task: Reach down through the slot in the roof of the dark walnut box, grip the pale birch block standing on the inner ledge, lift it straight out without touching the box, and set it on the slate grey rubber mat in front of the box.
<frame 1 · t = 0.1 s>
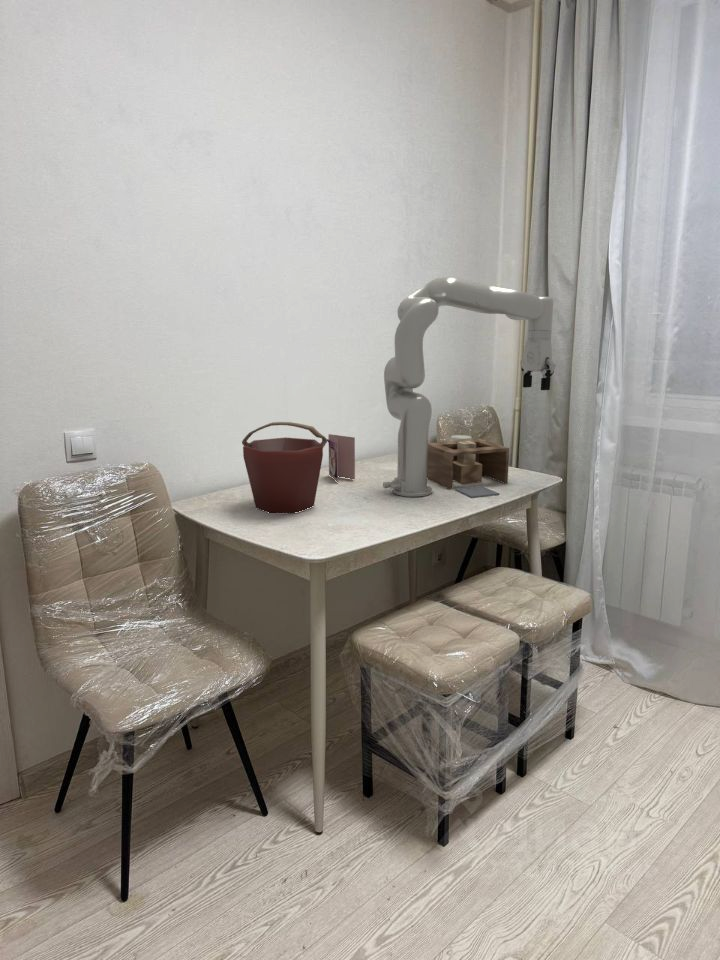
hand: (535, 388, 221), 31 cm above the table, tool pointing down, fingers open, 9 cm apart
slate mat: (477, 492, 212), on the table
birch block: (465, 462, 226), point 6 cm above the table, touching slot box
greeting card: (341, 479, 230), on the table
slot box: (465, 480, 228), on the table
bucket: (285, 507, 196), on the table
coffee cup: (459, 469, 245), on the table
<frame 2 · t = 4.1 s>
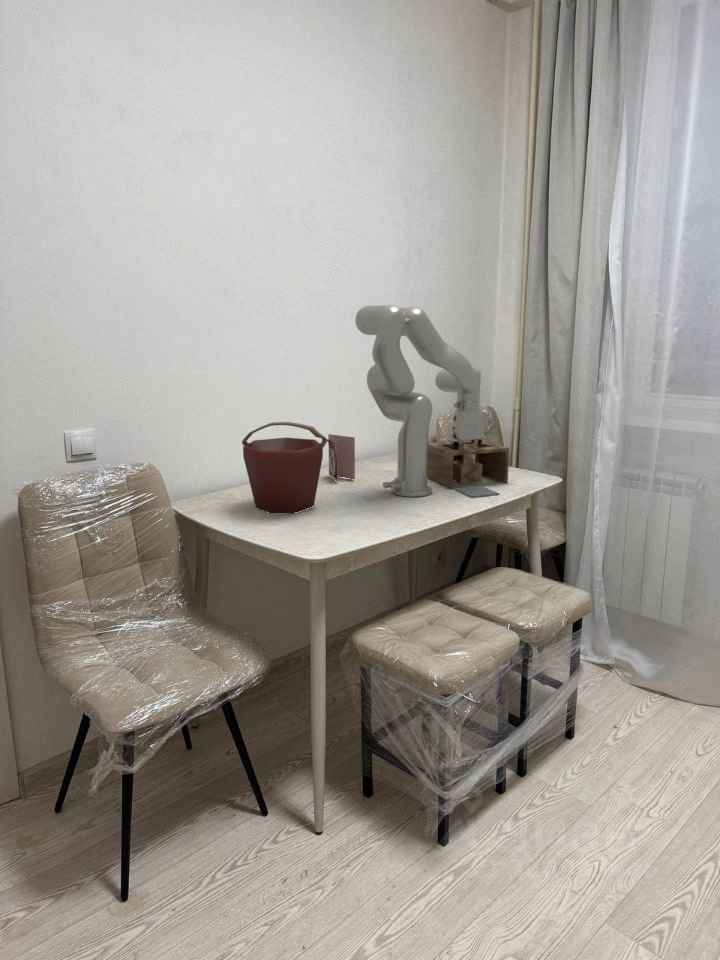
hand: (466, 459, 226), 7 cm above the table, tool pointing down, fingers closed on birch block, 4 cm apart
birch block: (466, 462, 226), point 6 cm above the table, touching gripper, slot box
everything else where it was.
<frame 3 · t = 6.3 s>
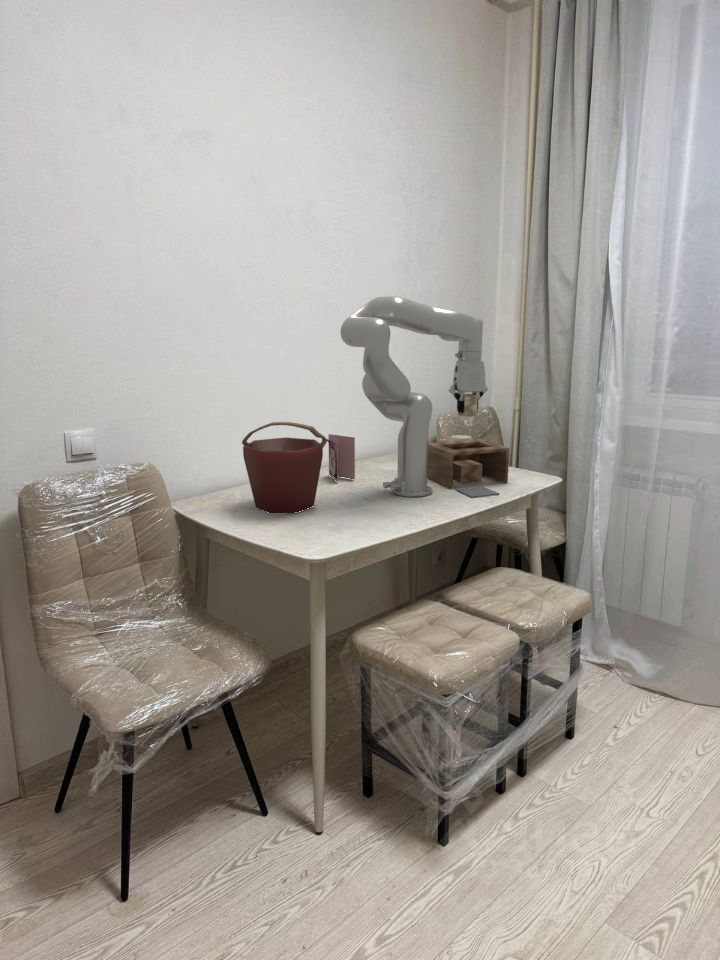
hand: (467, 411, 222), 24 cm above the table, tool pointing down, fingers closed on birch block, 4 cm apart
birch block: (467, 415, 222), point 22 cm above the table, touching gripper
everything else where it was.
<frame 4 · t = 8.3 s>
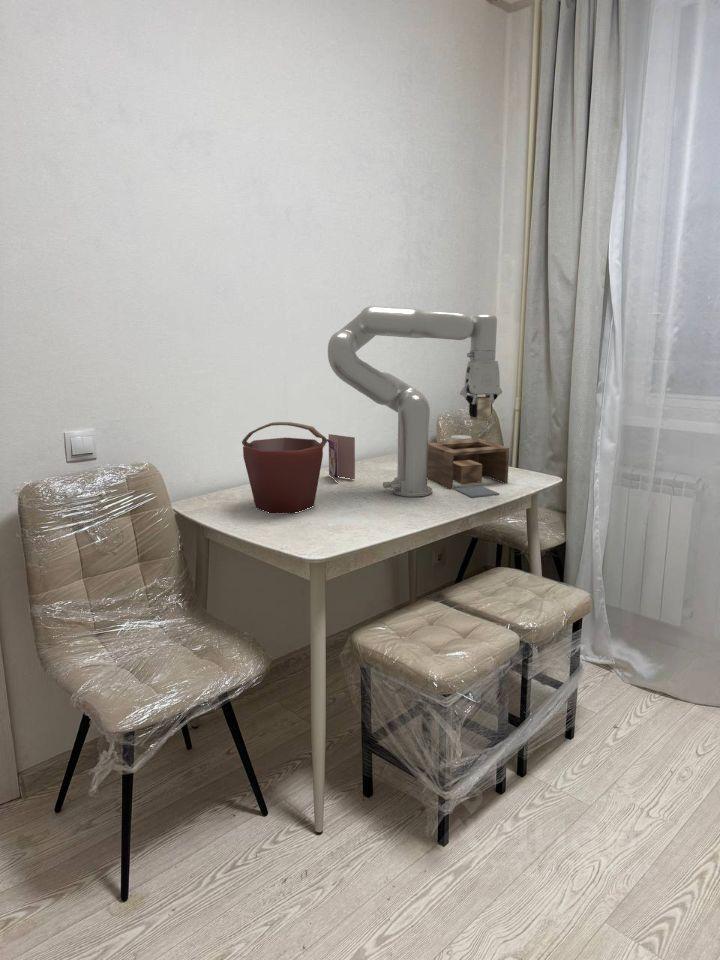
hand: (480, 415, 206), 25 cm above the table, tool pointing down, fingers closed on birch block, 4 cm apart
birch block: (480, 420, 206), point 23 cm above the table, touching gripper
everything else where it was.
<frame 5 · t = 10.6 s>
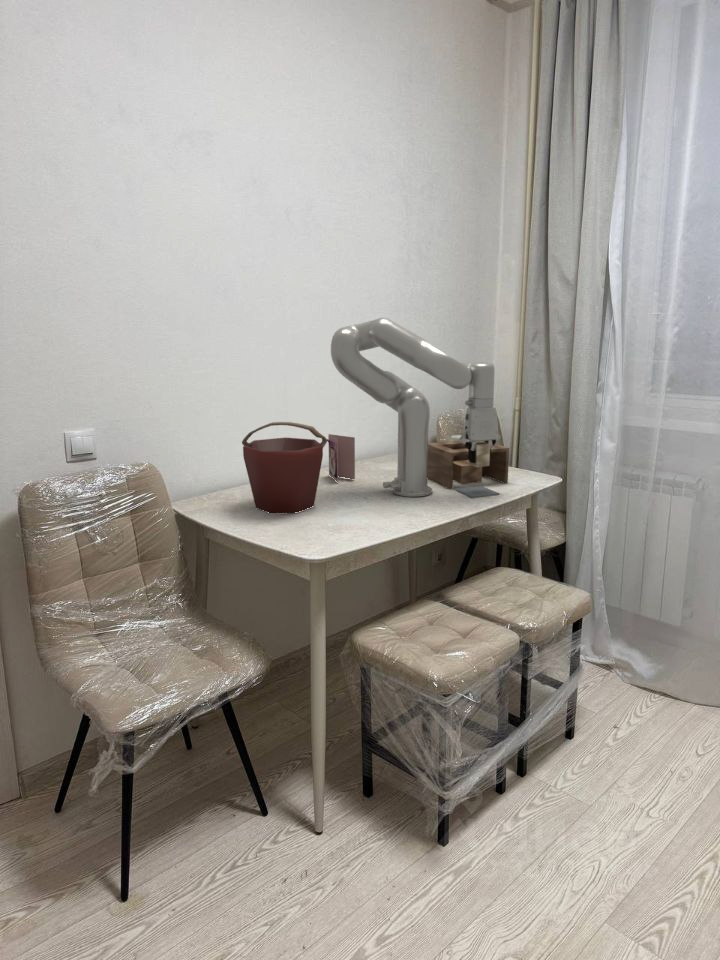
hand: (479, 460, 209), 10 cm above the table, tool pointing down, fingers closed on birch block, 4 cm apart
birch block: (479, 465, 209), point 9 cm above the table, touching gripper
everything else where it was.
when the fingers open (3 cm above the table, at t = 12.5 s): birch block drops 1 cm, resting on slate mat.
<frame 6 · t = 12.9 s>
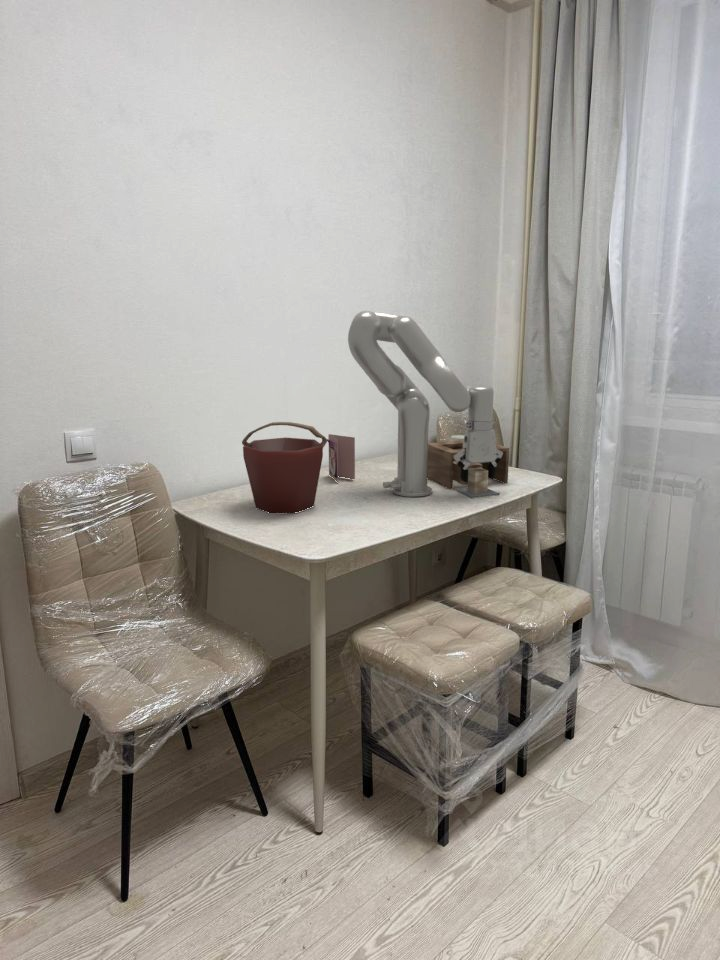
hand: (477, 479, 211), 4 cm above the table, tool pointing down, fingers open, 9 cm apart
birch block: (477, 491, 211), resting on slate mat
everything else where it was.
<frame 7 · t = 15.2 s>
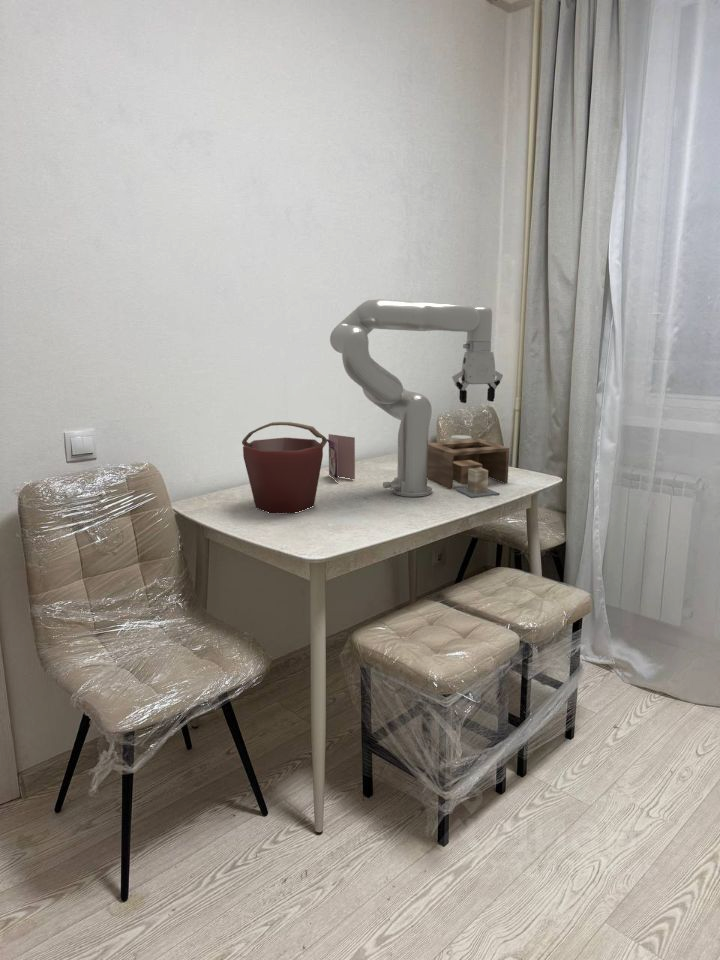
hand: (476, 401, 213), 28 cm above the table, tool pointing down, fingers open, 9 cm apart
nothing on the table moved.
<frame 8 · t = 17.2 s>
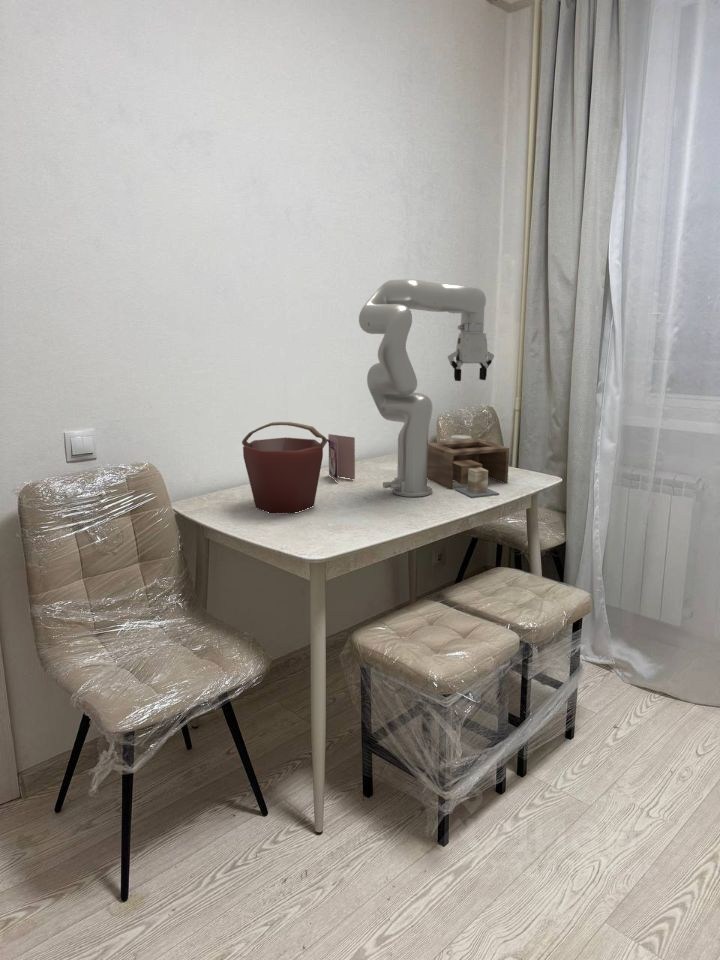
hand: (470, 380, 227), 33 cm above the table, tool pointing down, fingers open, 9 cm apart
nothing on the table moved.
at the end: birch block inside the target area (0.1 cm from its centre), point 0.5 cm above the table; birch block tilted 0°; the gripper is holding nothing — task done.
